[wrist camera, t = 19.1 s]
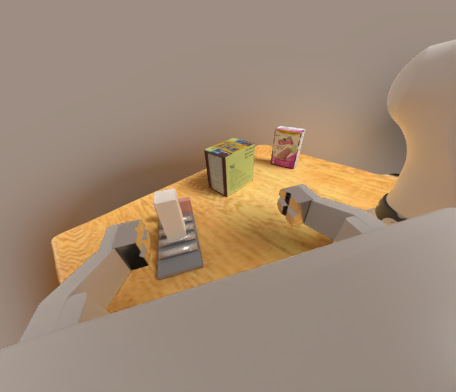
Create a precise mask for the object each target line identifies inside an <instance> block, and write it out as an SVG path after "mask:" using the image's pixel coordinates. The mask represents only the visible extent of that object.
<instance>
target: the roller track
mask: <svg viewBox="0 0 456 392" xmlns="http://www.w3.org/2000/svg"><path fill="white" fill-rule="evenodd" d="M178 201H179V204H180V208H181V211H182V215H183V219H184V222H185V228H186V236H187V237H183V238H179V239H175V240H171V241H168V239H167V236H166V234H165V231H164V229H163V226H162V224H161V221H159V247H158V273H157V278H158V279H159V280H161V279H165V278H168V277H171V276H175V275H178V274H182V273H185V272H188V271H192V270H195V269H199V268H202V267H203V262H202V257H201V252H200V247H199V242H198V236H197V231H196V226H195V221H194V216H193V211H192V207H191V202H190V198H189V197H187V198H182V199H178ZM155 210H156V209H155ZM156 212H157V211H156ZM157 215H158V214H157ZM158 217H159V216H158ZM159 220H160V219H159Z"/></svg>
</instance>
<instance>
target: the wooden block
mask: <svg viewBox="0 0 456 392" xmlns="http://www.w3.org/2000/svg"><path fill="white" fill-rule="evenodd" d="M154 206H155V209H156V211H157V214H158V216H159V219H160V221H161V224H162V226H163V229H164V231H165V234H166V236H167V239H168V241H171V240H175V239H179V238H183V237H187V236H186V228H185V222H184V219H183V215H182V211H181V208H180V204H179V201H178V197H177V193H176V190H175V189H169V190H164V191H159V192H155V196H154Z"/></svg>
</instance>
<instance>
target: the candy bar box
mask: <svg viewBox="0 0 456 392" xmlns="http://www.w3.org/2000/svg"><path fill="white" fill-rule="evenodd" d="M304 133H305V129H299V128H292V127H284V126H279V127H277V128H276V129H275V135H274V143H273V150H272V158H271V164H275V165H279V166H283V167H287V168H291V169H294V168H295V167H296V165H297V162H298V158H299V154H300V150H301V145H302V141H303V137H304Z"/></svg>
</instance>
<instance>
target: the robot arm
mask: <svg viewBox="0 0 456 392" xmlns="http://www.w3.org/2000/svg"><path fill="white" fill-rule="evenodd" d="M387 108H388V111H389V114H390V116H391V117H392V119H393V120H394V121H395V122H396V123H397V124H398V125H399V127H400V128H401V130H402V131H403V133H404V136H405V139H406V143H407V157H406V162H405V165H404V167H403V169H402V171H401V173H400V175H399V177H398V179H397V181H396V182H395V184H394V186H393V187H392V189H391V190H390V192H389V193H387V194H386V195H384V197H383V198H382V199H381V200H380V201H379V202H378V205H377V206H376V208H369V209H368V210H367V211H365V210H362V209H358V208H355V207H352V206H349V205H346V204H342V203H339V202H336V201H333V200H330V199H327V198H321V197H319V196H318V195H317V194H316V193H314V192H313V191H312V190H311V189H309V188H308V187H307V186H306V185H304V184H301V185H296V186H293V187H289V188H284V189H281V190H280V192H279V195H280V198H279V199H278V203H277V205H278V209H279V211H280V213H281V214H283V215H285V216H286V220H287V221H288V222H289V224H290V225H291V226H295V225H299V224H303V223H304V224H305V225H307V226H309V227H310V228H312V229H314V230H316V231H318V232H319V233H321V234H323V235H325V236H327V237H329V238H330V239H332V240H334V241H333V243H331V244H328V245H325V246H322V247H319V248H316V249H312V250H309V251H306V252H303V253H300V254H297V255H294V256H290V257H287V258H284V259H281V260H278V261H275V262H272V263H268V264H265V265H262V266H259V267H256V268H253V269H249V270H246V271H243V272H240V273H237V274H234V275H231V276H227V277H224V278H221V279H218V280H215V281H212V282H208V283H205V284H202V285H199V286H196V287H193V288H190V289H186V290H183V291H180V292H177V293H174V294H171V295H167V296H164V297H161V298H158V299H155V300H152V301H149V302H145V303H142V304H139V305H136V306H133V307H130V308H126V309H123V310H120V311H117V312H114V313H110V312H109V311H108V310H106V309H107V307H108V306H109V304H110V303H111V301H112V300H113V298H114V297H115V295H116V294H117V292H118V291H119V289H120V288H121V286H122V285H123V283H124V282H125V280H126V279H127V277H128V276H129V274H130V273H131V271H132V270H135V269H139V268H142V267H145V266H149V258H150V254H149V252H148V250H149V248H150V245H151V242H150V236H149V233H148V231H147V230H145V229H144V226H145V225H144V223H143V221H142V220H137V221H132V222H126V223H121V224H117V225H112V226H109V227H108V228H107V230H106V232H105V235H104V237H103V240H102V243H101V245H100V248H99V251H98V253H94V254H93V255H92V256H91V257H90V258H89V259H88V260H87V261H86V262H84V263H83V264H82V265H81V266H80V267H79V268H78V269H77V270H76V271H75V272H74V273H73V274H71V275H70V276H69V277H68V278H67V279H66V280H65V281H64V282H63V283H62V284H61V285H59V286H58V288H56V289H55V290H54V291H53V292H52V293H51V294H50V295H49V296H48V297H46V298H45V299H44V300H43V301H42V302H41V303H40V304H39V306H38V308H37V310H36V311H35V313H34V315H33V317H32V319H31V320H30V323H29V324H28V326H27V328H26V330H25V332H24V333H23V335H22V337H21V339H20V341H19V342H18V343H16V344H13V345H10V346H7V347H3V348H0V392H456V40H452V41H448V42H445V43H441V44H437V45H433V46H430V47H428V48H426V49H425V50H423V51H422V52H421V53H419V54H418V55H417V56H416V57H414V58H413V59H412V60H411V61H410V62H409V63H408V64H407V65H406V66H405V67H404V68H403V69H402V70H401V71H400V73H399V74H398V75H397V77H396V78H395V80H394V82H393V83H392V86H391V88H390V90H389V93H388V98H387Z"/></svg>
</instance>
